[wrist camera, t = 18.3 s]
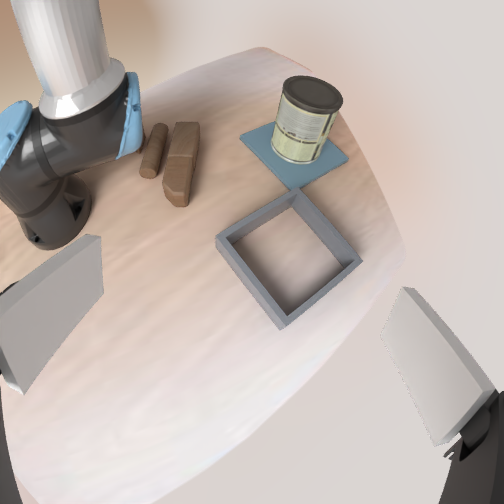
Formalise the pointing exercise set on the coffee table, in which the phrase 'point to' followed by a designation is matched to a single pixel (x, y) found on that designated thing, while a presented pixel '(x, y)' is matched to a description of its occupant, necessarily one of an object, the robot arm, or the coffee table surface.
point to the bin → (315, 222)
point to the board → (285, 170)
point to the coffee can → (304, 118)
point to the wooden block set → (172, 159)
